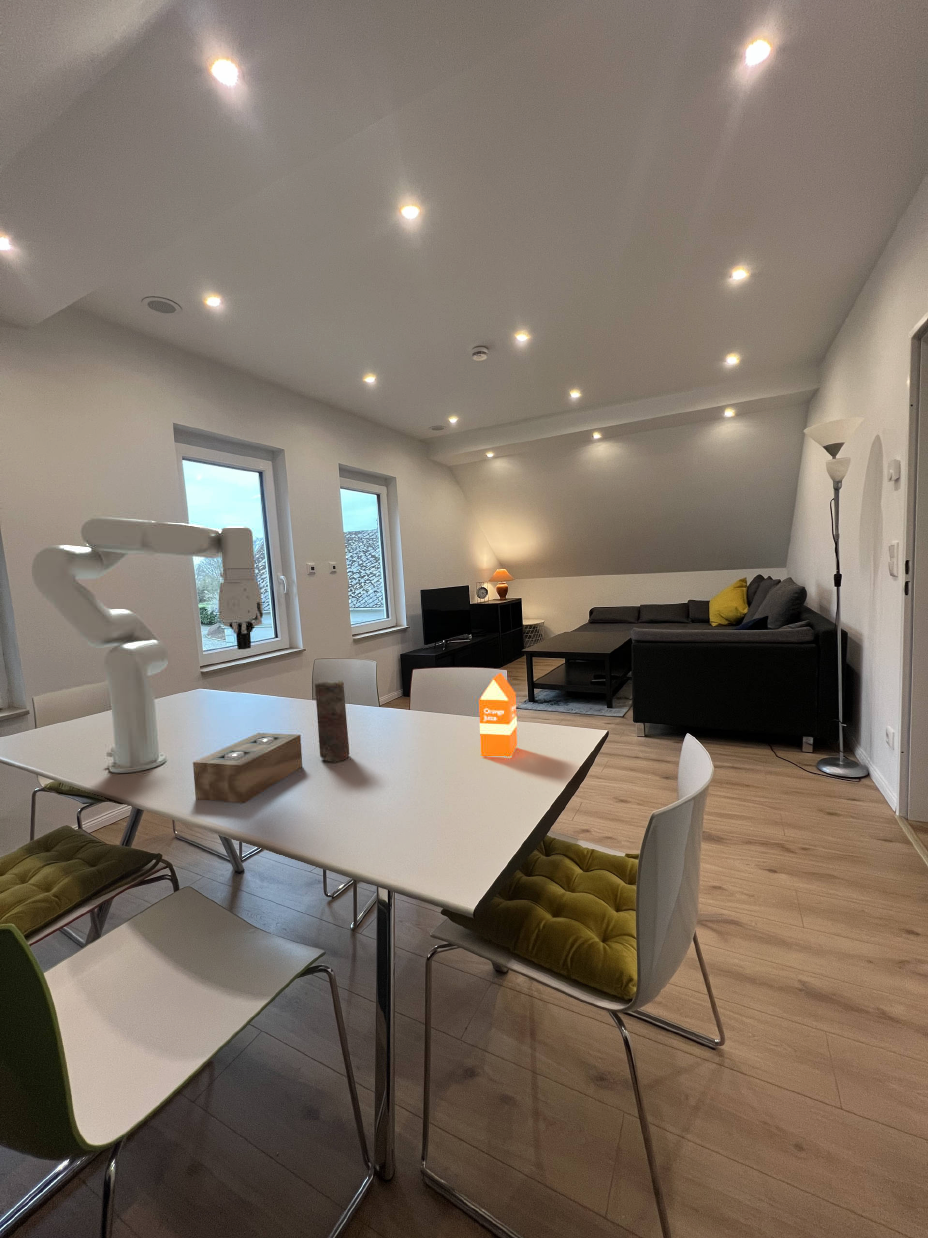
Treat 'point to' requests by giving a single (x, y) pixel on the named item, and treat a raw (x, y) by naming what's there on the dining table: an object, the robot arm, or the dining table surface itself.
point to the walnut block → (247, 767)
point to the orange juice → (498, 719)
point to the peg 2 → (265, 740)
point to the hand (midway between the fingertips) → (244, 648)
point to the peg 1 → (234, 755)
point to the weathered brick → (332, 721)
